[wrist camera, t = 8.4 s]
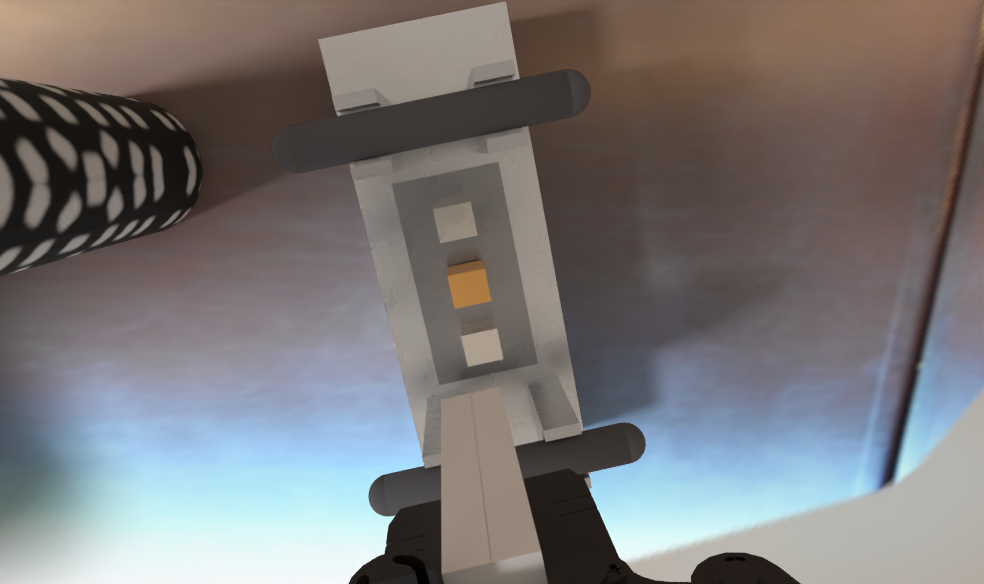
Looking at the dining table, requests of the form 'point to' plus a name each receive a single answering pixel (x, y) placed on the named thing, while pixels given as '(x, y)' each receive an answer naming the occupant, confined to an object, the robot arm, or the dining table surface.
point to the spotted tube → (87, 172)
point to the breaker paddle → (468, 284)
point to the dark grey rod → (431, 121)
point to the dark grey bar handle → (534, 459)
